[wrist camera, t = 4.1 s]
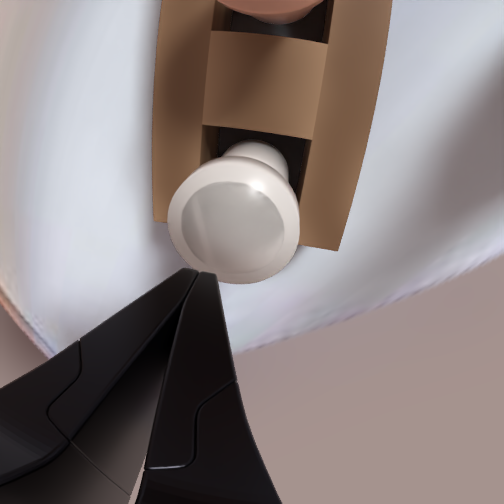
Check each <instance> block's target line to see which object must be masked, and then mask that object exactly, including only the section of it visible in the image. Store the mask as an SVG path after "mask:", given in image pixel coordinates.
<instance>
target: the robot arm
mask: <svg viewBox="0 0 504 504" xmlns="http://www.w3.org/2000/svg"><path fill="white" fill-rule="evenodd" d="M146 453H147V455H146ZM145 456H146V460H145V465H144V470H145V471H144V472H143V476H142V480H141V484H140V489H139V492H138V496H137V499H136V502H135V504H282V502H281V500H280V498H279V496H278V494H277V492H276V490H275V487H274V485H273V483H272V480H271V478H270V476H269V474H268V471H267V469H266V467H265V465H264V462H263V460H262V457H261V455H260V453H259V450H258V448H257V445H256V443H255V440H254V438H253V435H252V432H251V429H250V426H249V423H248V421H247V417H246V414H245V410H244V406H243V402H242V398H241V394H240V389H239V385H238V383H237V376H236V372H235V367H234V362H233V357H232V352H231V347H230V342H229V337H228V332H227V327H226V322H225V316H224V311H223V306H222V300H221V295H220V290H219V284H218V279H217V275H216V274H215V273H210V272H205V271H201V272H200V273H199V271H198V270H194V269H189V268H182V269H180V270H179V271H178V272H176V273H175V274H173V275H172V276H170V277H169V278H167V279H166V280H164V281H163V282H161V283H160V284H158V285H157V286H155V287H154V288H152V289H151V290H149V291H148V292H146V293H145V294H143V295H142V296H141V297H139V298H138V299H136V300H135V301H133V302H132V303H130V304H129V305H127V306H126V307H124V308H123V309H122V310H120V311H119V312H117V313H116V314H114V315H113V316H111V317H110V318H109V319H107V320H106V321H104V322H103V323H101V324H100V325H98V326H97V327H96V328H94V329H93V330H91V331H90V332H88V333H87V334H86V335H84V336H83V337H81V338H80V341H79V340H77V341H75V342H74V343H73V344H71V345H70V346H68V347H67V348H66V349H64V350H63V351H61V352H60V353H58V354H57V355H55V356H54V357H52V358H51V359H49V360H48V361H46V362H45V363H43V364H41V365H40V366H38V367H36V368H35V369H33V370H31V371H30V372H28V373H26V374H24V375H23V376H21V377H19V378H18V379H16V380H14V381H12V382H10V383H9V384H7V385H5V386H3V387H2V388H0V504H128V502H129V500H130V495H131V494H132V491H133V488H134V486H135V483H136V480H137V477H138V475H139V472H140V469H141V467H142V464H143V461H144V459H145Z"/></svg>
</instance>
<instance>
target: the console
mask: <svg viewBox="0 0 504 504" xmlns="http://www.w3.org/2000/svg"><path fill="white" fill-rule="evenodd" d="M391 8H392V0H328V2H327V9H326V16H325V24H324V30H323V37H322V43H319V42H314V41H308V40H302V39H296V38H290V37H283V36H275V35H266V34H256V33H245V32H230V29H231V22H232V14H233V10H232V9H230V8H228V7H226V6H224V5H223V4H221V3H220V2H218V1H217V0H162V4H161V12H160V20H159V29H158V39H157V50H156V62H155V76H154V94H153V121H152V190H153V217H154V221H157V222H164V223H168V222H167V219H168V210H169V205H170V203H171V200H172V198H173V196H174V194H175V192H176V191H177V190H178V188H179V187H180V186H181V185H182V183H183V182H184V181H185V180H186V179H187V178H188V177H189V176H190V175H191V173H193V172H194V171H195V170H196V169H197V168H198V167H200V166H201V165H202V164H204V163H206V162H208V161H210V160H213V159H216V158H217V156H218V144H219V132H220V126H221V127H230V128H239V129H247V130H254V131H261V132H268V133H275V134H281V135H287V136H293V137H299V138H304V139H306V141H305V147H304V152H303V158H302V163H301V169H300V174H299V179H298V185H297V190H296V198H297V201H298V205H299V226H300V235H299V242H298V245H304V246H310V247H315V248H321V249H327V250H333V251H338V249H339V246H340V242H341V239H342V236H343V232H344V229H345V226H346V222H347V219H348V215H349V212H350V208H351V205H352V201H353V197H354V194H355V190H356V186H357V182H358V179H359V175H360V171H361V167H362V163H363V159H364V155H365V150H366V146H367V142H368V138H369V133H370V129H371V124H372V120H373V115H374V110H375V106H376V101H377V96H378V90H379V85H380V80H381V74H382V69H383V63H384V57H385V51H386V45H387V38H388V31H389V24H390V16H391Z"/></svg>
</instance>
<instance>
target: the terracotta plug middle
mask: <svg viewBox="0 0 504 504" xmlns="http://www.w3.org/2000/svg"><path fill="white" fill-rule="evenodd" d="M217 1H218V2H220V3H221V4H223V5H224V6H226V7H228V8H230V9H232V10H234V11H237V12H240V13H242V14H246V15H250V16H252V17H253V18H255V19H257V20H259V21H261V22H264V23H268V24H275V25H282V24H289V23H293V22H296V21H298V20H300V19H302V18H303V17H305V16H306V15H307V14H308V13H309V12H310V11H311V10H312V9H313V7H315V6H316V5H318V4H319V3H321V2H322V1H324V0H217Z"/></svg>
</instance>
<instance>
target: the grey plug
mask: <svg viewBox="0 0 504 504" xmlns="http://www.w3.org/2000/svg"><path fill="white" fill-rule="evenodd" d="M288 180H289V170H288V165H287V162H286V160H285V158H284V156H283V155H282V153H281V152H280V151H279V150H278V149H277V148H276V147H274V146H273V145H271V144H269V143H267V142H265V141H261V140H255V139H249V140H243V141H240V142H238V143H235V144H234V145H232V146H231V147H230V148H228V149H227V150H226V152H225V153H224V154H223V155H222V157H219V158H216V159H213V160H210V161H208V162H206V163H204V164H202V165H201V166H200V167H198V168H197V169H196V170H195V171H194V172H193V173H191V175H190V176H189V177H188V178H187V179H186V180H185V181H184V182H183V183H182V185H181V186H180V187H179V188H178V190H177V191H176V192H175V194H174V196H173V198H172V200H171V203H170V205H169V210H168V219H167V222H168V230H169V234H170V237H171V240H172V243H173V245H174V247H175V248H176V250H177V252H178V253H179V254H180V256H181V257H182V258H183V259H184V260H185V262H186V263H188V264H189V265H190V266H191V267H192V268H193V269H195V270H198V271H199V273H200V272H201V271H205V272H210V273H215V274H216V275H217V279H218V281H220V282H224V283H230V284H250V283H255V282H259V281H262V280H265V279H267V278H270V277H272V276H273V275H275V274H277V273H278V272H279V271H281V270H282V269H283V268H284V267H285V266H286V265H287V264H288V263H289V261H290V260H291V258H292V257H293V255H294V253H295V251H296V248H297V245H298V242H299V235H300V226H299V205H298V201H297V198H296V195H295V193H294V191H293V189H292V187H291V186H290V184H289V183H288Z"/></svg>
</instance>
